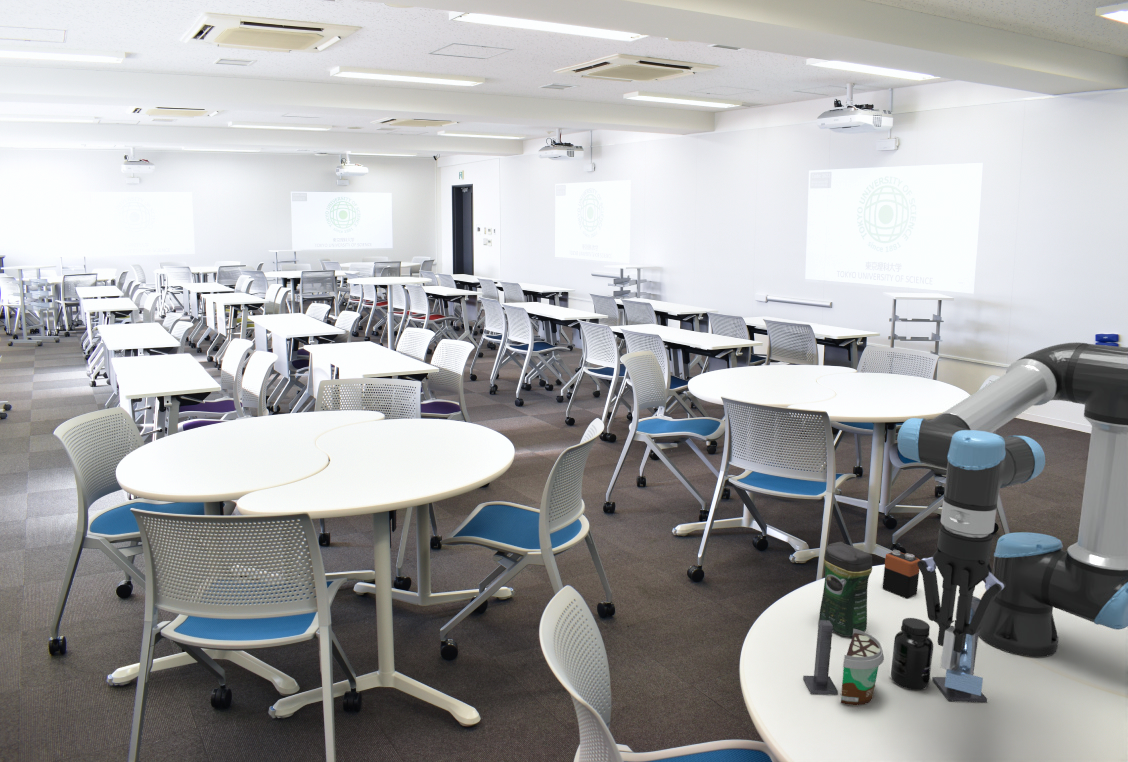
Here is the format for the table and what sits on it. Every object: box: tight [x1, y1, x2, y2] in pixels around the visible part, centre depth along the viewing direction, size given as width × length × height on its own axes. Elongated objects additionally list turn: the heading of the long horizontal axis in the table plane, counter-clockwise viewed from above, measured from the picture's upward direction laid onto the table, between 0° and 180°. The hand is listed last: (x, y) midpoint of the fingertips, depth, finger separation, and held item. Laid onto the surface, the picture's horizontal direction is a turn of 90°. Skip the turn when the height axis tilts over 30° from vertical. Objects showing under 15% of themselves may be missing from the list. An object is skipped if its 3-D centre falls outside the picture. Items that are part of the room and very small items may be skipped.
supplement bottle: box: [890, 617, 934, 691], centre depth 150 cm, size 7×7×12 cm
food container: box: [840, 629, 885, 706], centre depth 145 cm, size 12×6×10 cm, turn 152°
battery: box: [882, 549, 921, 599], centre depth 190 cm, size 4×7×10 cm, turn 36°
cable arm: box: [945, 595, 984, 696], centre depth 134 cm, size 30×5×4 cm, turn 152°
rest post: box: [802, 619, 839, 696], centre depth 147 cm, size 5×5×13 cm
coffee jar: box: [818, 541, 873, 637], centre depth 170 cm, size 10×8×19 cm
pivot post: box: [931, 619, 988, 704], centre depth 147 cm, size 7×7×14 cm
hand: (948, 666), depth 128 cm, fingers closed
